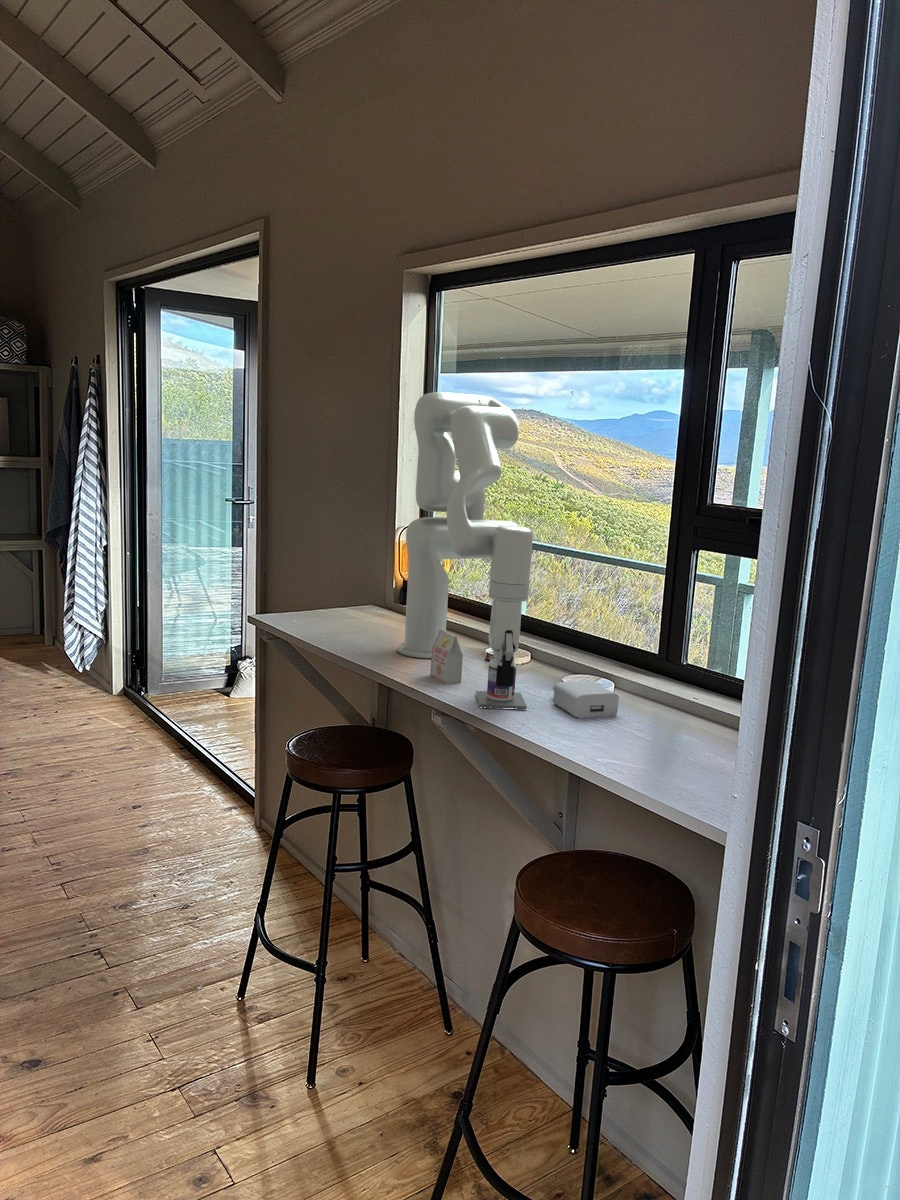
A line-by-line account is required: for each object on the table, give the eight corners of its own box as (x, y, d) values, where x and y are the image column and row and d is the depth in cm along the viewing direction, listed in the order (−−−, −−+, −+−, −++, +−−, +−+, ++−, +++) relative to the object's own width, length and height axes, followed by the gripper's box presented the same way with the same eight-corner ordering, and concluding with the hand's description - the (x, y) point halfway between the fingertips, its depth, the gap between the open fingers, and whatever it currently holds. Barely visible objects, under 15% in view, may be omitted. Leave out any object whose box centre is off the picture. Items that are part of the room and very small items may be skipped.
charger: (578, 693, 188) (617, 716, 174) (538, 696, 185) (574, 719, 171) (580, 671, 187) (619, 692, 174) (540, 673, 184) (577, 695, 170)
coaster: (475, 694, 182) (475, 690, 182) (520, 696, 183) (520, 692, 182) (479, 708, 173) (479, 704, 173) (526, 710, 174) (526, 706, 174)
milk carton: (445, 674, 196) (448, 628, 194) (461, 682, 190) (464, 636, 188) (430, 675, 194) (433, 629, 192) (445, 684, 188) (448, 637, 186)
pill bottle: (499, 692, 182) (503, 645, 180) (519, 699, 178) (523, 650, 176) (480, 696, 178) (484, 648, 176) (500, 703, 174) (504, 654, 173)
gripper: (485, 581, 182) (479, 667, 185) (493, 598, 165) (486, 692, 168) (522, 583, 183) (515, 669, 186) (534, 600, 166) (527, 694, 169)
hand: (501, 679), depth 177 cm, fingers open, 7 cm apart
